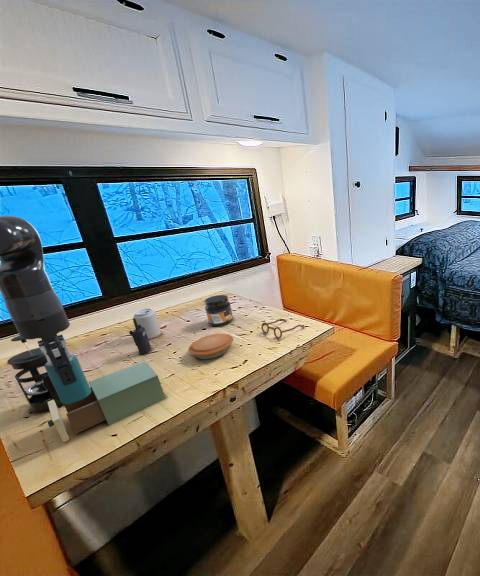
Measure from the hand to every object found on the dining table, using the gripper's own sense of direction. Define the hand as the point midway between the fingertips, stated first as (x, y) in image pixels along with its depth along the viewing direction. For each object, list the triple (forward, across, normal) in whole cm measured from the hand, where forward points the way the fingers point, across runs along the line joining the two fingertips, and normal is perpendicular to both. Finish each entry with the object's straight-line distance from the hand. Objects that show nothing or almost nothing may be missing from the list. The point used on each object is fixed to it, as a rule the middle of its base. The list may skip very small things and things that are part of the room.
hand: (68, 378), depth 71 cm
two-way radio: (+21, -44, +21) cm, 53 cm away
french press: (+20, -32, -5) cm, 38 cm away
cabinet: (+20, -12, +10) cm, 26 cm away
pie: (+21, -22, +38) cm, 49 cm away
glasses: (+21, -15, +65) cm, 70 cm away
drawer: (+19, -13, 0) cm, 23 cm away
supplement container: (+21, -46, +52) cm, 73 cm away
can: (+21, -57, +27) cm, 67 cm away
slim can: (+5, 0, 0) cm, 5 cm away
